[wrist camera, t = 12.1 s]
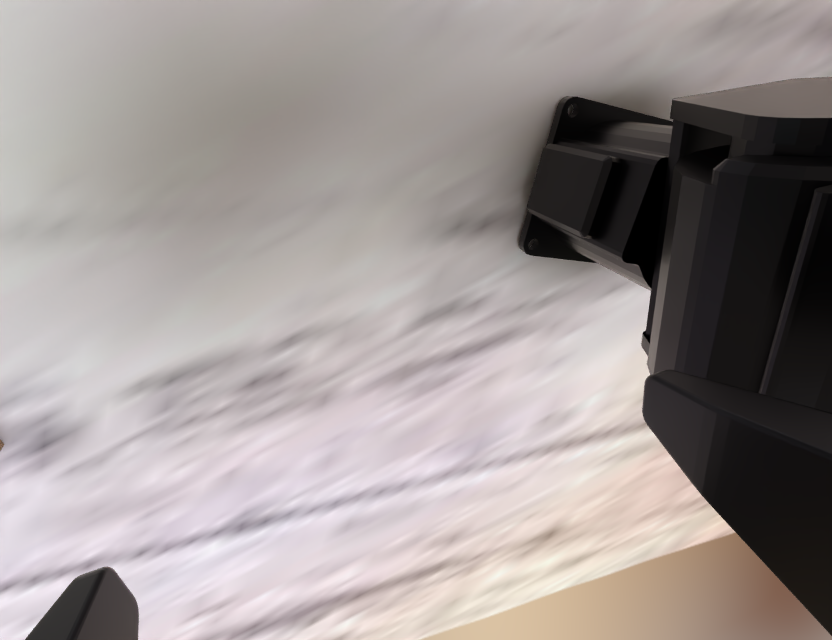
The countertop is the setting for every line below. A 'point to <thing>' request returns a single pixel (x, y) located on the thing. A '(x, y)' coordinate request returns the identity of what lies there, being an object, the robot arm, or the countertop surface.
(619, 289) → the countertop surface
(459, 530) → the countertop surface
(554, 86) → the countertop surface
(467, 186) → the countertop surface
